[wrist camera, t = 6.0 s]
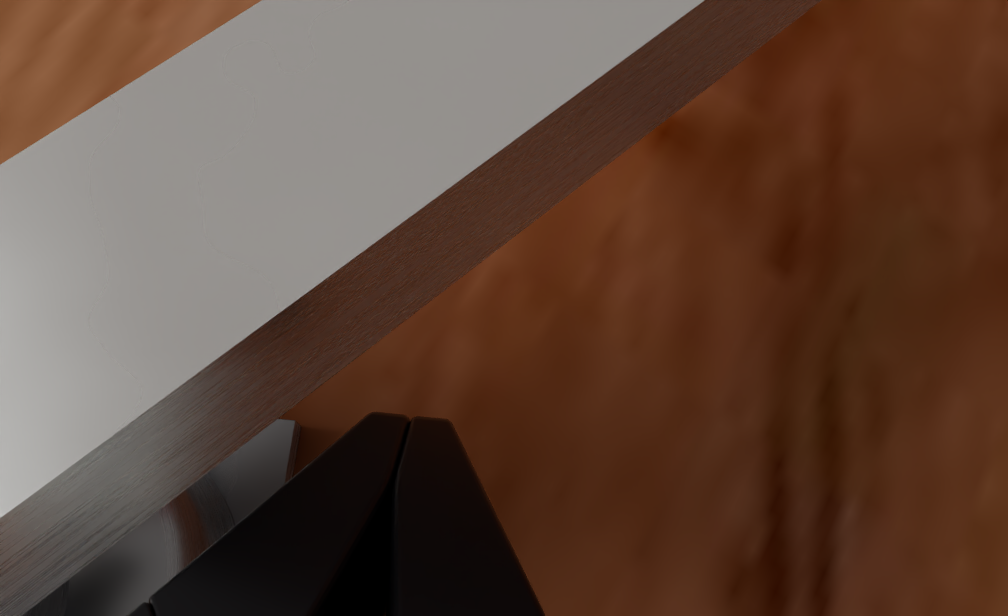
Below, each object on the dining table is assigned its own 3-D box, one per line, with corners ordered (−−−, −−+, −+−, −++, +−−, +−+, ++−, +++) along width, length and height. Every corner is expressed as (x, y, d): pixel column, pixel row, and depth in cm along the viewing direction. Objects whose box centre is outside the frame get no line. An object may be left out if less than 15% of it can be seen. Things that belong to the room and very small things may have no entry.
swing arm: (998, -81, 13) (1224, -349, 9) (-134, 817, 9) (-604, 1022, 5) (853, -205, 14) (1008, -505, 10) (-274, 579, 9) (-787, 593, 6)
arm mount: (238, 800, 13) (139, 910, 9) (-143, 765, 13) (-421, 861, 9) (301, 425, 15) (240, 376, 11) (-34, 392, 15) (-225, 328, 11)
